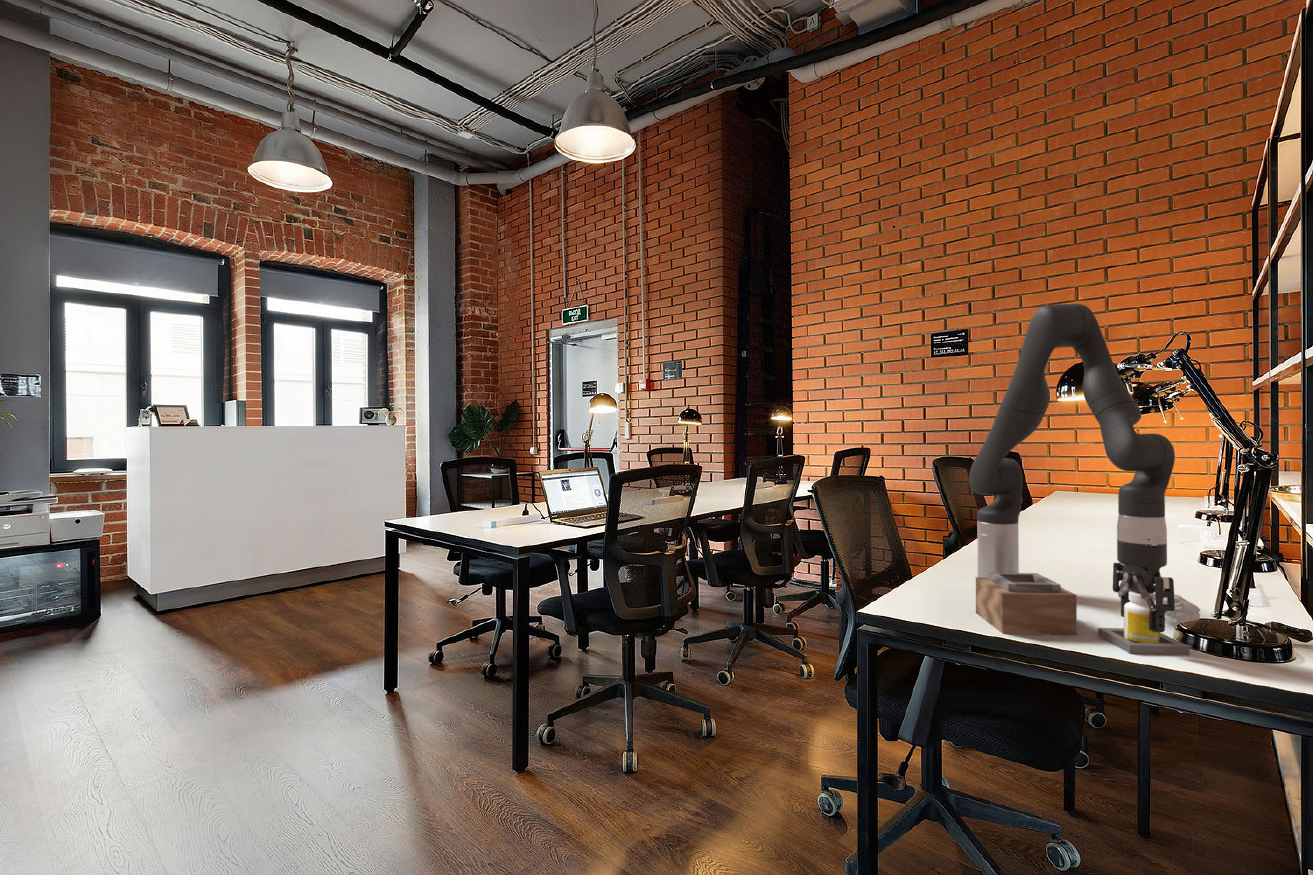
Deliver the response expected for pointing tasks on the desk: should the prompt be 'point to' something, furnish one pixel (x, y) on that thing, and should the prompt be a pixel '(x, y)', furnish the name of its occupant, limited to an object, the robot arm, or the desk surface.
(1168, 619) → the frog figurine
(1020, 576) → the walnut stand
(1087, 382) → the robot arm
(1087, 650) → the desk surface
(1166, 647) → the frame
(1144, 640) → the supplement bottle
